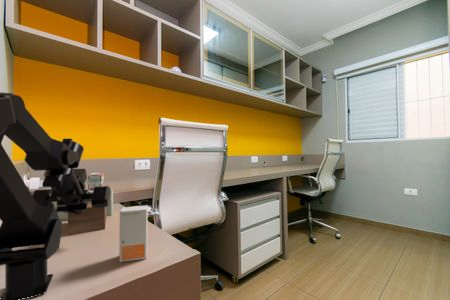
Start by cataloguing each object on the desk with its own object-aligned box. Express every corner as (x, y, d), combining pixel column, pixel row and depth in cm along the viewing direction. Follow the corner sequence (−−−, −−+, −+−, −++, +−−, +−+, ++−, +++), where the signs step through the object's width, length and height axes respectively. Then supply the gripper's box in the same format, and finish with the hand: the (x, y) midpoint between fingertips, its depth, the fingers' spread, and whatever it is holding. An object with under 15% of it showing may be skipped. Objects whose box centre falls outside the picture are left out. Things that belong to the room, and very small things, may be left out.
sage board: (111, 215, 85) (111, 190, 85) (52, 220, 79) (52, 194, 79) (113, 213, 88) (112, 189, 88) (56, 218, 82) (55, 192, 82)
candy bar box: (101, 213, 88) (101, 174, 88) (87, 215, 86) (87, 175, 86) (104, 207, 98) (104, 171, 98) (91, 208, 96) (91, 172, 96)
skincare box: (119, 263, 49) (118, 211, 49) (122, 254, 53) (122, 206, 53) (147, 259, 50) (146, 209, 50) (148, 251, 55) (147, 204, 55)
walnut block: (104, 229, 70) (104, 205, 70) (67, 235, 66) (67, 209, 66) (106, 218, 83) (106, 197, 83) (75, 222, 78) (75, 200, 78)
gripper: (109, 159, 63) (116, 189, 74) (32, 160, 58) (52, 193, 68) (102, 190, 56) (112, 219, 66) (14, 195, 50) (39, 225, 61)
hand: (80, 213), depth 66 cm, fingers closed
